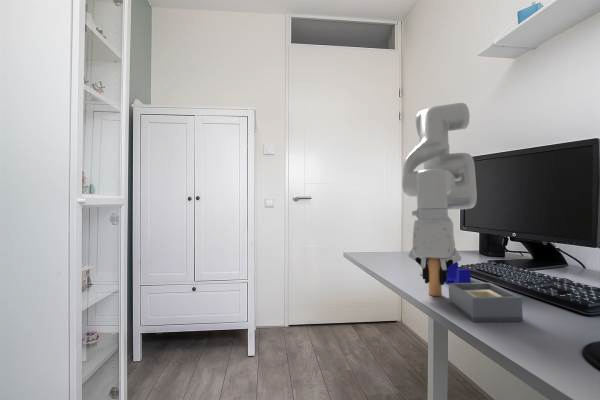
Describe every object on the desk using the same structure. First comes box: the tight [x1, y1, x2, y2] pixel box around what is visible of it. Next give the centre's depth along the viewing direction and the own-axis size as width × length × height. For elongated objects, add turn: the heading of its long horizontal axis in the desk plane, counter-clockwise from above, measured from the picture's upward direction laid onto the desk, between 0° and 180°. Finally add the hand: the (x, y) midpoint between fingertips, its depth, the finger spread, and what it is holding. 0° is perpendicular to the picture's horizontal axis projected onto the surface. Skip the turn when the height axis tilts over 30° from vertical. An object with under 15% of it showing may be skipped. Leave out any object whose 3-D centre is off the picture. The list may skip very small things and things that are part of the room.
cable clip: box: [444, 261, 472, 286], centre depth 95 cm, size 12×4×6 cm, turn 170°
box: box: [448, 282, 524, 323], centre depth 72 cm, size 12×10×5 cm
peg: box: [428, 258, 443, 297], centre depth 85 cm, size 3×3×10 cm
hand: (434, 282), depth 85 cm, fingers closed on peg, 3 cm apart
